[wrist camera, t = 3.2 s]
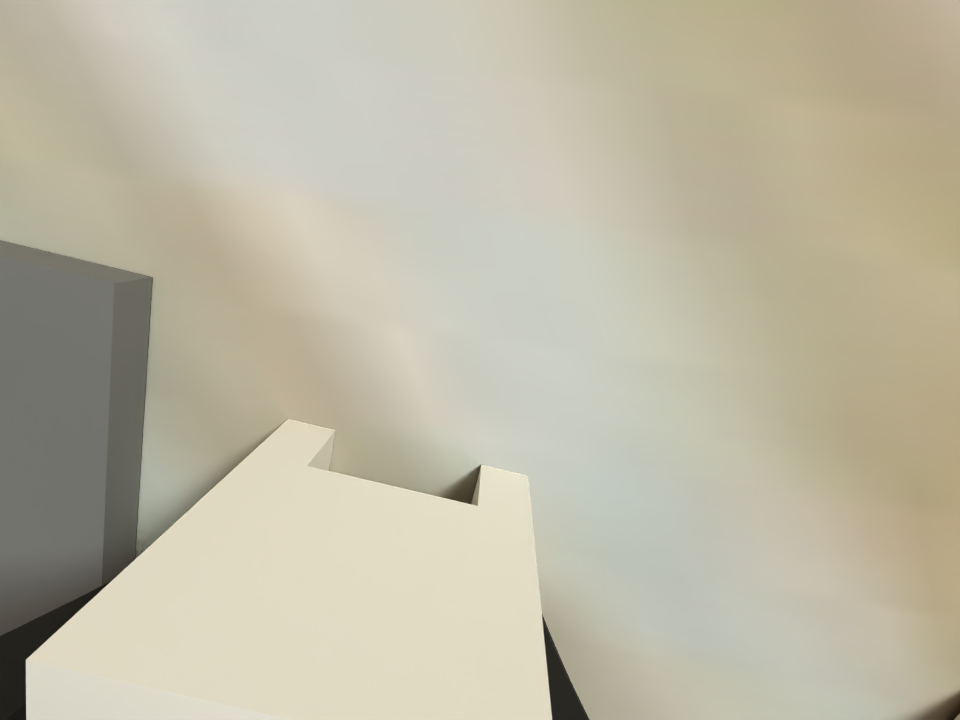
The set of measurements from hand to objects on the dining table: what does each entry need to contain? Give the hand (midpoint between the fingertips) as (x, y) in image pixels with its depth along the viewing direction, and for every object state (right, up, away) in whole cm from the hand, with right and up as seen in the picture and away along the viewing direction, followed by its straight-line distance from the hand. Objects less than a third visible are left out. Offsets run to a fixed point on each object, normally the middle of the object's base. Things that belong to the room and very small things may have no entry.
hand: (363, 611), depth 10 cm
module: (0, 0, +2) cm, 2 cm away
